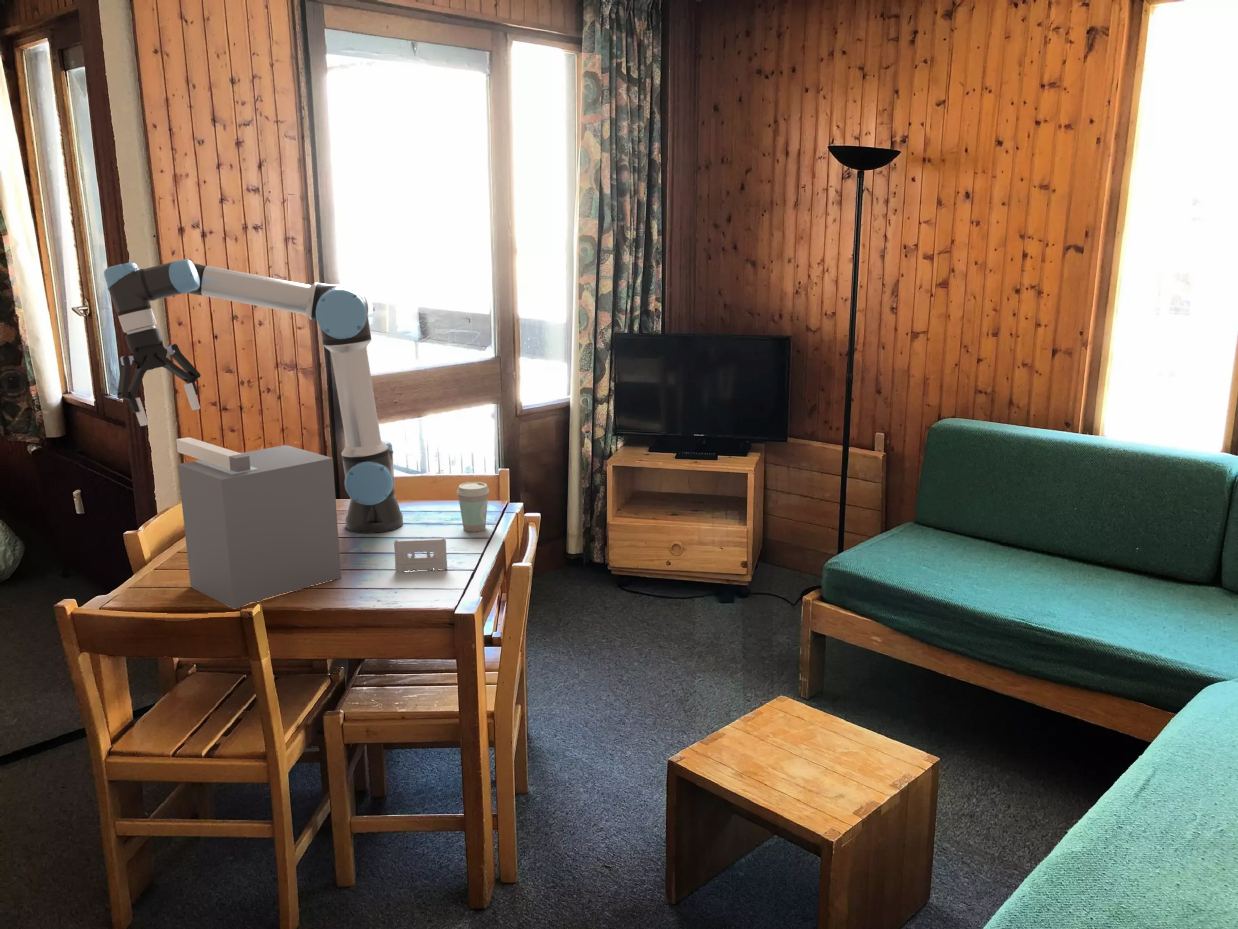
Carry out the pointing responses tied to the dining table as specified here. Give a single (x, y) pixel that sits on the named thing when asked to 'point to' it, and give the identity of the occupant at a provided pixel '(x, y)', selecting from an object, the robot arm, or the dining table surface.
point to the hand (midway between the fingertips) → (171, 417)
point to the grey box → (260, 525)
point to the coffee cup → (473, 505)
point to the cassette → (420, 562)
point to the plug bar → (213, 454)
